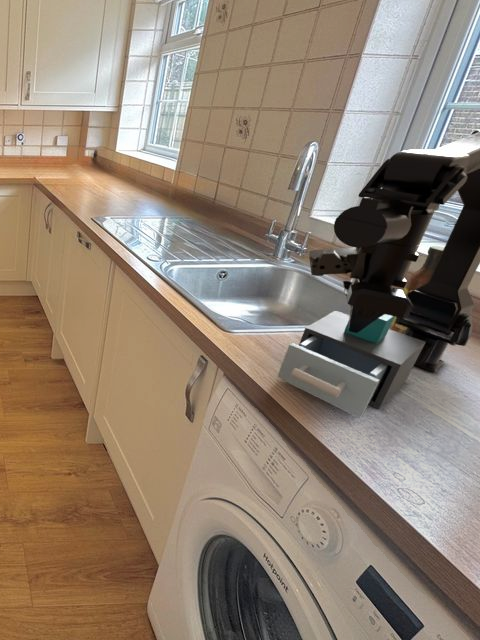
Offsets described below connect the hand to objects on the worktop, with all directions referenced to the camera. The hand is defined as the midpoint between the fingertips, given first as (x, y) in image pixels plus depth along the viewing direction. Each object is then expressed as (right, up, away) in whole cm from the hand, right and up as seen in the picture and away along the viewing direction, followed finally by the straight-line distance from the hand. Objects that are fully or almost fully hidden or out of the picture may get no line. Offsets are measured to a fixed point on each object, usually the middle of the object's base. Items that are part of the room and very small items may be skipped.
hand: (352, 331), depth 66 cm
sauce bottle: (+34, -5, +24) cm, 42 cm away
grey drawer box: (+7, -10, +9) cm, 15 cm away
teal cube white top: (+7, -2, +6) cm, 9 cm away
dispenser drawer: (-1, -10, +3) cm, 11 cm away
